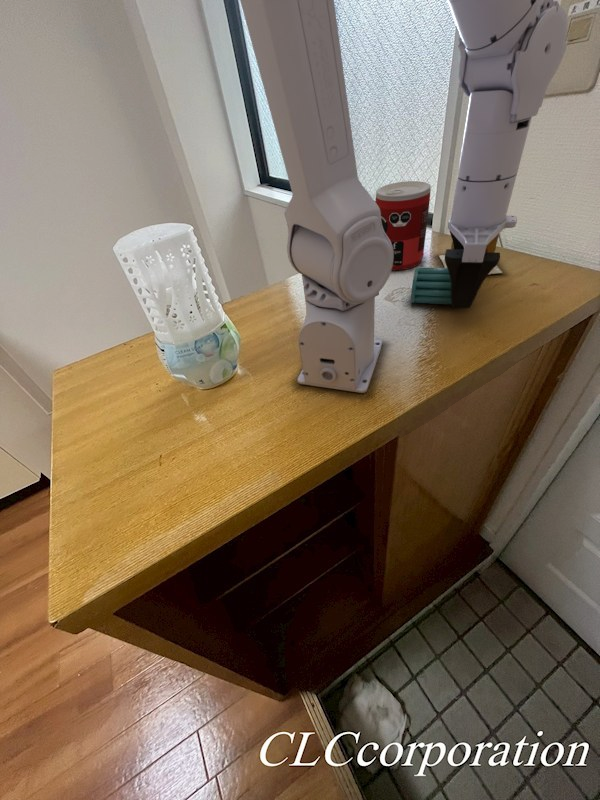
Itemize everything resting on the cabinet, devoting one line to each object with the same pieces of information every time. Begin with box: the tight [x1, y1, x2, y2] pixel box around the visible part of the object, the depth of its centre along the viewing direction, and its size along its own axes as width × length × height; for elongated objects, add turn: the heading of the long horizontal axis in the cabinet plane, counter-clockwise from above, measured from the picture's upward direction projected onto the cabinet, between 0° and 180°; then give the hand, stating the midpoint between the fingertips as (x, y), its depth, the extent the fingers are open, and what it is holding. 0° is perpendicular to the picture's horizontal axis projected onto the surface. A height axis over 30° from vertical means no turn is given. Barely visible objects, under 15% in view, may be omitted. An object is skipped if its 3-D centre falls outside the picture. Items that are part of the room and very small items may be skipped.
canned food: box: [375, 180, 432, 271], centre depth 55 cm, size 8×8×11 cm
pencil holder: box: [410, 266, 452, 306], centre depth 46 cm, size 7×6×5 cm
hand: (461, 293), depth 46 cm, fingers closed on pencil holder, 6 cm apart
